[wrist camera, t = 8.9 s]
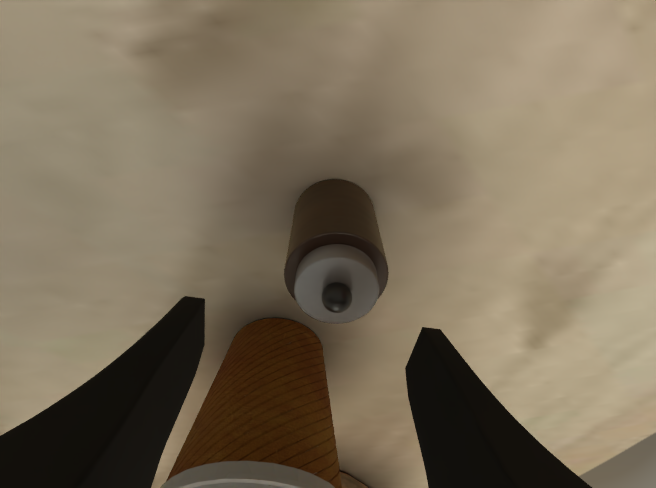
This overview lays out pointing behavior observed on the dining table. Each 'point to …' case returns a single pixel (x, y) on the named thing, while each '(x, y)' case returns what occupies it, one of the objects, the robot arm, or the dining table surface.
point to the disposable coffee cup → (264, 416)
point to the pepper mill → (335, 253)
